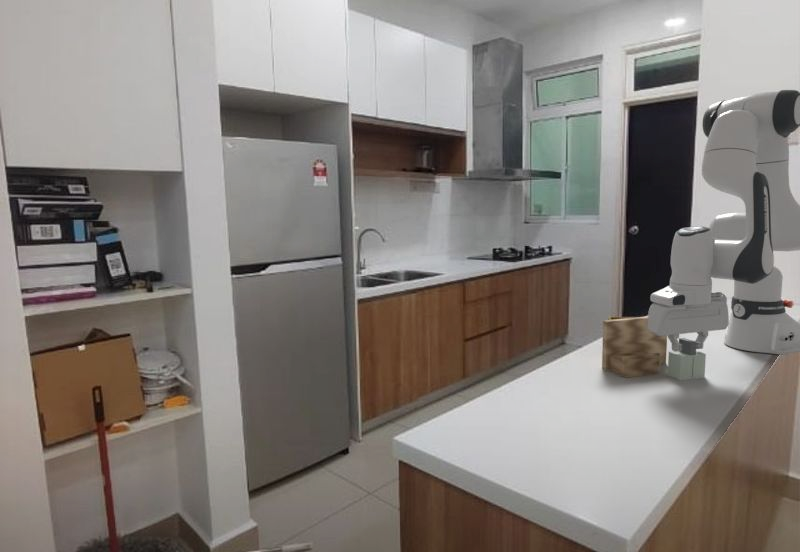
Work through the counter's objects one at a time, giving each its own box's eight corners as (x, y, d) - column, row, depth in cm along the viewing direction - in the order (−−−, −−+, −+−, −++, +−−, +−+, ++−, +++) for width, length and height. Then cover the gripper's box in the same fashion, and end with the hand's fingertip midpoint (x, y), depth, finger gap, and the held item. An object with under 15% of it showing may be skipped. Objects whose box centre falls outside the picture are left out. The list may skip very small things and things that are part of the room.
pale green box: (691, 372, 124) (693, 336, 123) (704, 377, 120) (706, 341, 119) (667, 374, 123) (669, 339, 122) (680, 380, 119) (681, 343, 118)
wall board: (661, 361, 133) (663, 314, 131) (683, 370, 125) (685, 321, 123) (602, 368, 129) (603, 320, 127) (620, 378, 122) (621, 327, 120)
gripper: (715, 289, 124) (712, 342, 126) (644, 295, 120) (642, 349, 122) (737, 293, 118) (734, 349, 120) (662, 299, 114) (660, 357, 116)
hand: (687, 349), depth 121 cm, fingers open, 5 cm apart
